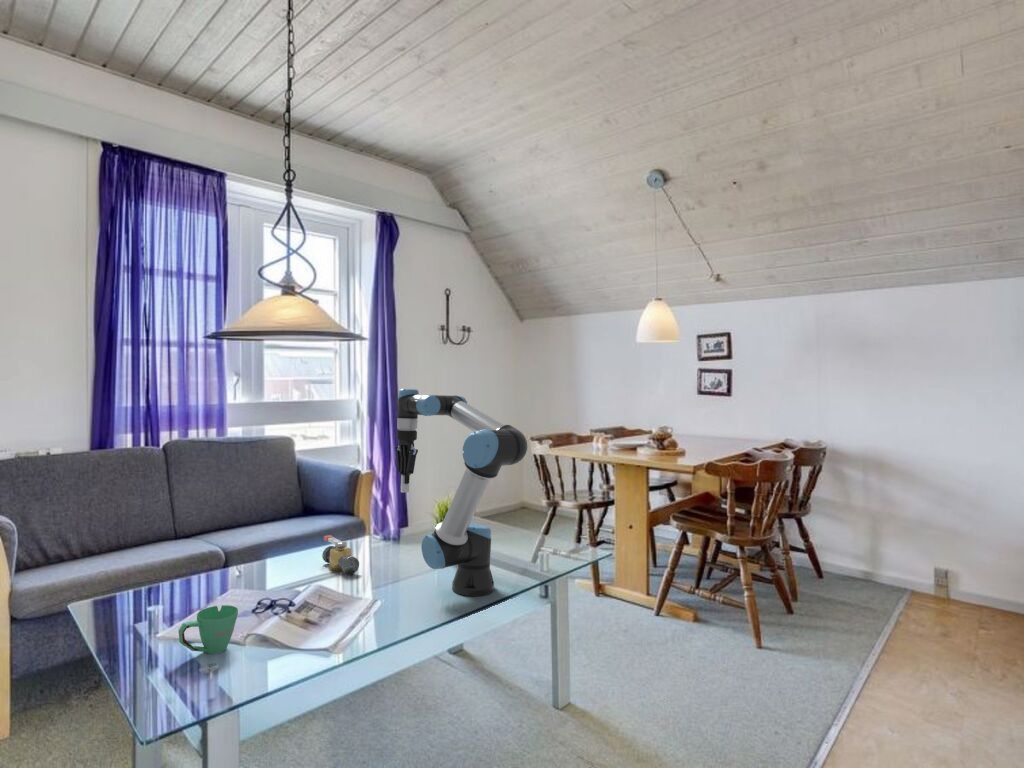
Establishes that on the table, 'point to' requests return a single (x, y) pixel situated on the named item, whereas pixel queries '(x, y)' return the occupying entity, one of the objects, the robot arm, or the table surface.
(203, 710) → the table surface
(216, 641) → the mug
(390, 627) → the table surface
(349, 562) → the valve body
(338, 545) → the lever
